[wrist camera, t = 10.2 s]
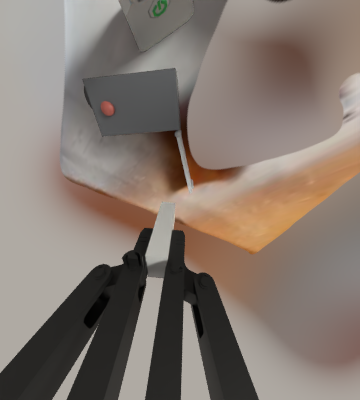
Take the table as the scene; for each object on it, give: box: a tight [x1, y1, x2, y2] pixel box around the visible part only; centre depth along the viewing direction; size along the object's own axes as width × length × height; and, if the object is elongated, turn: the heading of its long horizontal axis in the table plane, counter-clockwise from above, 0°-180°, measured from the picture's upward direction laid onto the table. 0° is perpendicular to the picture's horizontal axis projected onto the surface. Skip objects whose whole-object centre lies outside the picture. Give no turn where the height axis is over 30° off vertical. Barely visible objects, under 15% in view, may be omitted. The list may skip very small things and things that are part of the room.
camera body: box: [82, 68, 181, 136], centre depth 31 cm, size 20×10×10 cm, turn 94°
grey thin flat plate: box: [175, 129, 194, 193], centre depth 38 cm, size 17×2×7 cm, turn 13°
